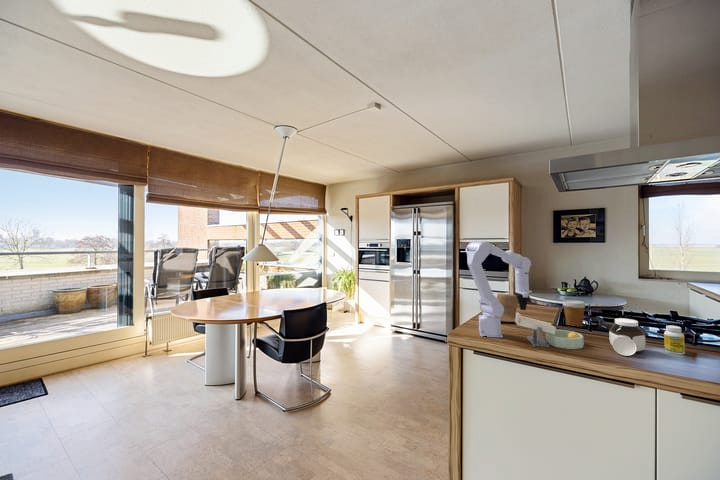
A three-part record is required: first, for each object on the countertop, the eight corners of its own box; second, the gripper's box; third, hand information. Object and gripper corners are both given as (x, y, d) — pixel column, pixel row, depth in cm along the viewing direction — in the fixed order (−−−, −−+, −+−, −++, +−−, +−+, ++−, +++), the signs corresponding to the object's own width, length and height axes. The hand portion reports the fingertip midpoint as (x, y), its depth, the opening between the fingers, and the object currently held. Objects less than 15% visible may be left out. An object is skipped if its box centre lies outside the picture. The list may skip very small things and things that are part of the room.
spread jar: (636, 347, 121) (635, 318, 121) (656, 358, 110) (655, 326, 110) (601, 346, 124) (600, 317, 124) (617, 357, 113) (616, 325, 113)
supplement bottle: (679, 350, 116) (678, 325, 116) (688, 355, 112) (687, 329, 112) (661, 349, 118) (660, 324, 118) (669, 354, 113) (668, 328, 113)
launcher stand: (533, 346, 126) (532, 327, 126) (526, 337, 138) (525, 320, 138) (549, 347, 124) (548, 328, 124) (541, 338, 136) (540, 320, 136)
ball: (583, 337, 124) (577, 345, 125) (579, 334, 128) (574, 342, 129) (572, 332, 125) (567, 340, 126) (569, 329, 129) (564, 337, 130)
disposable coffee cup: (590, 328, 146) (589, 303, 146) (568, 328, 148) (567, 303, 148) (580, 323, 156) (579, 299, 156) (559, 323, 158) (558, 299, 158)
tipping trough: (517, 325, 130) (519, 315, 130) (511, 316, 144) (513, 308, 144) (554, 334, 126) (556, 324, 126) (544, 324, 140) (546, 316, 140)
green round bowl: (551, 347, 124) (551, 337, 124) (543, 337, 136) (542, 328, 136) (588, 349, 120) (588, 339, 120) (576, 339, 132) (575, 330, 132)
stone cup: (518, 319, 168) (517, 291, 168) (522, 324, 157) (521, 295, 157) (488, 317, 173) (487, 291, 173) (490, 323, 162) (489, 295, 162)
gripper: (535, 283, 140) (536, 313, 140) (527, 279, 154) (528, 306, 154) (517, 283, 142) (518, 313, 142) (512, 279, 156) (513, 306, 156)
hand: (522, 309), depth 148 cm, fingers closed
